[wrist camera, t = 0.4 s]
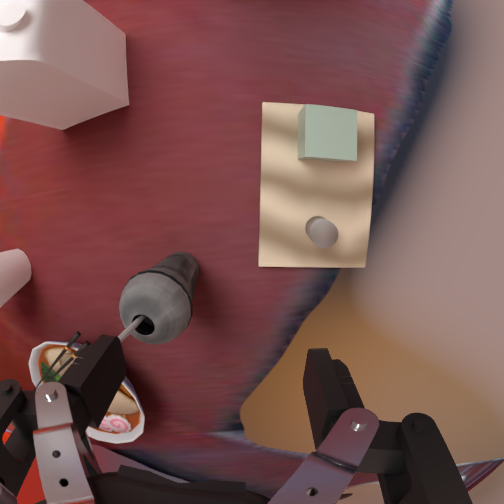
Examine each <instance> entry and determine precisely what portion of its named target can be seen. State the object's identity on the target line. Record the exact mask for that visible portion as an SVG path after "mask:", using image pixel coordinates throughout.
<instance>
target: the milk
mask: <svg viewBox="0 0 504 504" xmlns="http://www.w3.org/2000/svg"><path fill="white" fill-rule="evenodd" d="M128 105H129V95H128V81H127V63H126V34H125V33H124V32H122V31H121V30H120V29H119V28H118V27H116V26H115V25H114V24H113V23H112V22H110V21H109V20H108V19H107V18H105V17H104V16H103V15H101V14H100V13H99V12H98V11H96V10H95V9H94V8H92V7H91V6H90V5H89V4H87V3H86V2H85V1H83V0H0V115H1V116H6V117H10V118H15V119H19V120H23V121H28V122H32V123H36V124H40V125H44V126H48V127H52V128H56V129H60V130H64V129H67V128H69V127H71V126H74V125H76V124H78V123H81V122H83V121H86V120H88V119H91V118H94V117H96V116H99V115H102V114H104V113H107V112H110V111H113V110H116V109H119V108H122V107H125V106H128Z"/></svg>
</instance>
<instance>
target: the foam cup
mask: <svg viewBox="0 0 504 504" xmlns="http://www.w3.org/2000/svg"><path fill="white" fill-rule="evenodd" d="M31 273H32V272H31V265H30V262H29V260H28V257H27V256H26V255H25V253H24V252H23V251H21V250H19V249H14V250H9V251H5V252H0V307H2V306H3V305H4V304H5V303H6V302H7V301H8V300H9V299H10V298H11V297H12V296H13V295H14V294H15V293H16V292H18V291H19V290H20V289H21V288H22V287H23V286H24V285H25V284H26V283H27V282H28V281H29V280H30V278H31Z"/></svg>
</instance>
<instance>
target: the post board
mask: <svg viewBox="0 0 504 504" xmlns="http://www.w3.org/2000/svg"><path fill="white" fill-rule="evenodd" d="M303 106H304V105H302V104H288V103H269V102H262V137H261V183H260V224H259V261H258V264H259V266H264V267H340V268H344V267H345V268H365V265H366V257H367V249H368V241H369V231H370V220H371V208H372V194H373V174H374V114H372V113H366V112H360V111H357V161H352V162H333V161H321V160H307V159H297V150H298V113H299V112H300V110H301V109H302V108H303Z"/></svg>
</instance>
